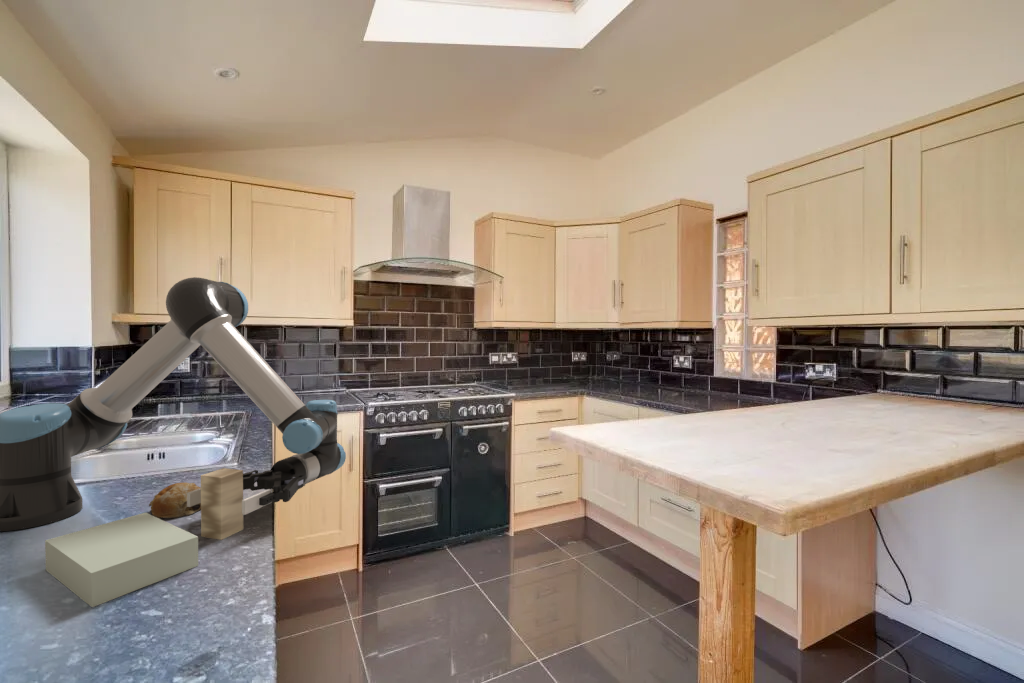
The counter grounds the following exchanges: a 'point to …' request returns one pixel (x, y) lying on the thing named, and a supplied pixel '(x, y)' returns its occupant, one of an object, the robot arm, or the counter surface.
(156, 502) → the bread roll
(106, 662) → the counter surface
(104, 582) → the block
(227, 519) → the birch block
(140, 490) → the counter surface
